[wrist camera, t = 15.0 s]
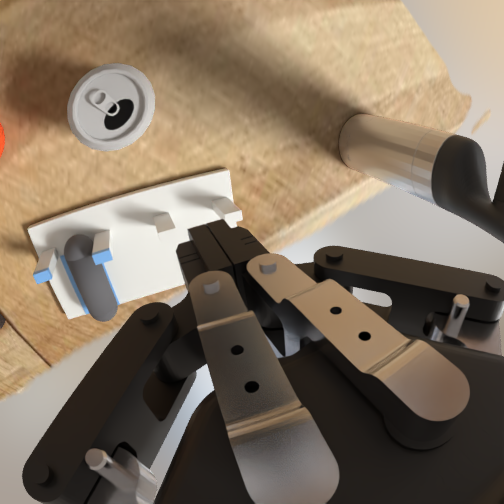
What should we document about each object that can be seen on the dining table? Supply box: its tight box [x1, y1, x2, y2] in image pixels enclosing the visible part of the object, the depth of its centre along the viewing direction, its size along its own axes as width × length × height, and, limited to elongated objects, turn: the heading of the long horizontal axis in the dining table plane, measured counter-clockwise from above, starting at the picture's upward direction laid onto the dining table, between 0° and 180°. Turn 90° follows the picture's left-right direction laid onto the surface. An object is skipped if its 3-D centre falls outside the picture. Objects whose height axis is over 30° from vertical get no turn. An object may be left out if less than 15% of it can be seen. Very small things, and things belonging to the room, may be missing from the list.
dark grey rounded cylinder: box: [64, 234, 118, 322], centre depth 34 cm, size 12×4×4 cm, turn 6°
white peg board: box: [27, 168, 243, 319], centre depth 35 cm, size 26×14×7 cm, turn 96°
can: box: [67, 63, 155, 151], centre depth 25 cm, size 8×8×12 cm
